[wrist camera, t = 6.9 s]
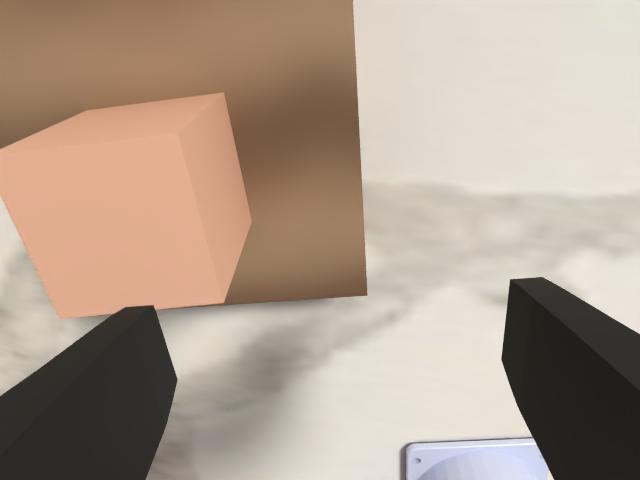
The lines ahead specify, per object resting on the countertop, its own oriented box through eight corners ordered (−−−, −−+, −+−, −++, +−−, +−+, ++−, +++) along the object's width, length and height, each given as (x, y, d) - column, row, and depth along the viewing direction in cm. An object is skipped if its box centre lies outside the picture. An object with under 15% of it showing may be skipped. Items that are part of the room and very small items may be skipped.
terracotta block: (251, 221, 16) (223, 303, 12) (130, 234, 17) (59, 319, 12) (223, 92, 14) (177, 132, 10) (86, 110, 15) (-18, 157, 10)
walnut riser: (361, 252, 21) (367, 295, 18) (106, 269, 22) (68, 315, 18) (344, -60, 15) (349, -75, 12) (2, -23, 16) (-76, -29, 13)
